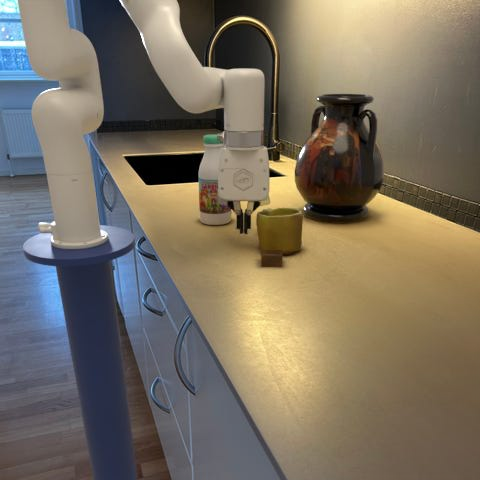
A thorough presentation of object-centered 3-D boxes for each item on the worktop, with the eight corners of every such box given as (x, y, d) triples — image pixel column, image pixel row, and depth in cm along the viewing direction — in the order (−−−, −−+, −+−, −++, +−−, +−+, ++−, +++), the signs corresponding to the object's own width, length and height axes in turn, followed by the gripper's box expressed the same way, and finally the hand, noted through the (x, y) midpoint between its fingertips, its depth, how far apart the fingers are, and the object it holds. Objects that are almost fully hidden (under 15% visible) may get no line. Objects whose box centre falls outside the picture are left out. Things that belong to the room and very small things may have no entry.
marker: (261, 266, 98) (261, 254, 97) (261, 261, 100) (261, 249, 99) (282, 266, 98) (282, 255, 97) (281, 261, 100) (281, 249, 99)
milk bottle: (197, 217, 128) (194, 133, 119) (228, 216, 129) (227, 132, 120) (202, 226, 121) (199, 138, 112) (234, 224, 123) (233, 137, 113)
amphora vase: (396, 217, 128) (413, 95, 115) (339, 233, 116) (350, 100, 103) (332, 200, 143) (340, 91, 130) (275, 213, 131) (278, 95, 118)
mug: (317, 247, 101) (302, 199, 99) (269, 266, 101) (252, 218, 98) (303, 240, 113) (289, 197, 110) (260, 256, 113) (245, 213, 110)
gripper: (203, 142, 95) (206, 237, 103) (283, 142, 95) (280, 238, 103) (207, 137, 102) (209, 226, 110) (282, 137, 101) (278, 227, 110)
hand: (243, 232), depth 107 cm, fingers closed
